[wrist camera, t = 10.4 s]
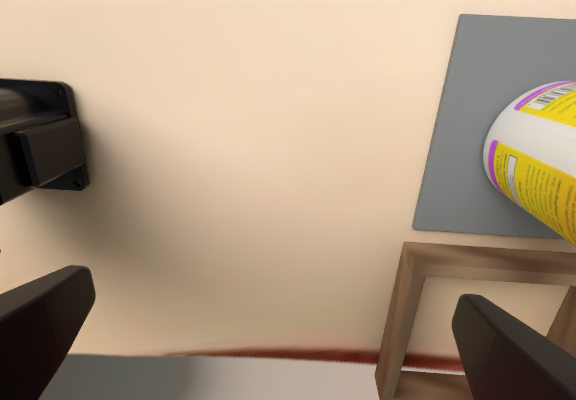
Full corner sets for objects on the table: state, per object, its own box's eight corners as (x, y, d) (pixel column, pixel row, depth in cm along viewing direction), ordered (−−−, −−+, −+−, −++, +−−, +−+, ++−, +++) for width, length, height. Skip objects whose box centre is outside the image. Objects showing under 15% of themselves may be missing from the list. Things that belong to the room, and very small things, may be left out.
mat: (412, 226, 22) (413, 229, 21) (459, 14, 17) (463, 13, 16) (602, 238, 21) (607, 241, 21) (706, 27, 16) (716, 26, 16)
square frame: (374, 375, 27) (380, 404, 25) (403, 241, 22) (414, 263, 20) (532, 387, 27) (553, 419, 25) (598, 255, 22) (632, 278, 20)
